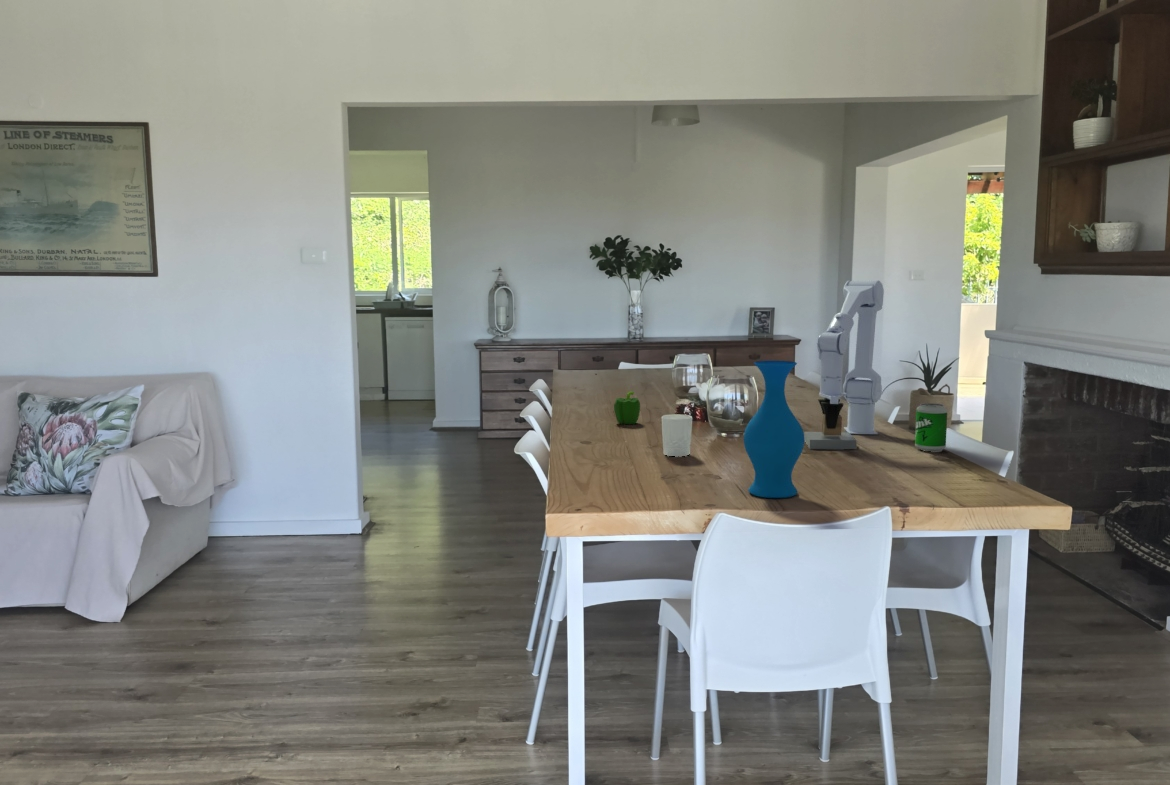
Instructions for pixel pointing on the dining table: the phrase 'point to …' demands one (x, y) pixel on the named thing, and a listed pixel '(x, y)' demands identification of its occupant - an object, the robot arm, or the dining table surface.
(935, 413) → the soda can
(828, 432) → the walnut cube
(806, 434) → the plinth
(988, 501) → the dining table surface
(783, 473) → the vase
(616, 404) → the bell pepper
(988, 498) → the dining table surface
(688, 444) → the white cup
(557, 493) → the dining table surface
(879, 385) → the robot arm
